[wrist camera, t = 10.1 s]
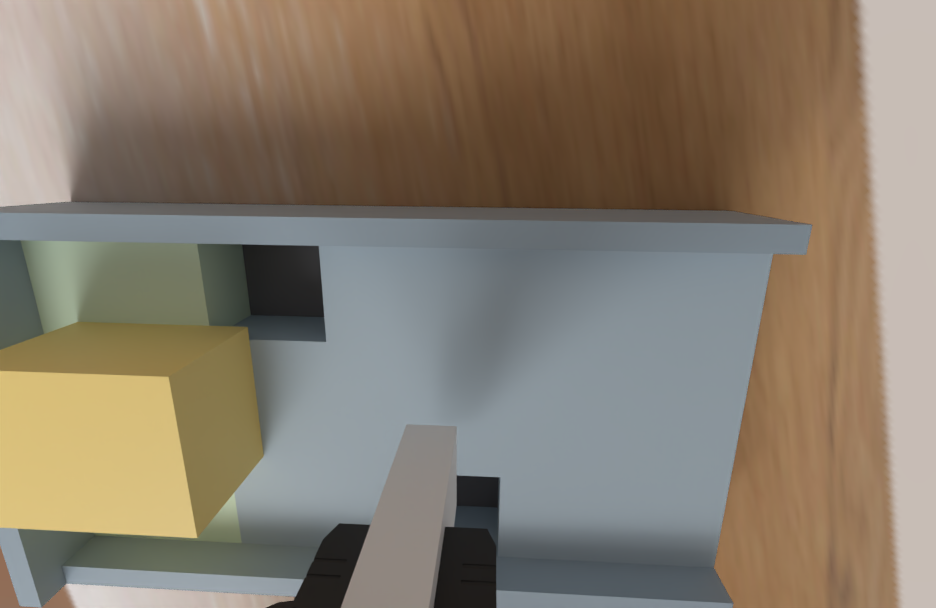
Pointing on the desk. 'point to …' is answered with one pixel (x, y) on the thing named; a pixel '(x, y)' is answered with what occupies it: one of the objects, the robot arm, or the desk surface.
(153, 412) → the block
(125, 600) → the desk surface
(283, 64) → the desk surface
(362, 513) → the tray
